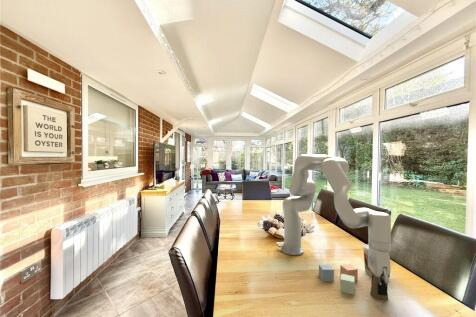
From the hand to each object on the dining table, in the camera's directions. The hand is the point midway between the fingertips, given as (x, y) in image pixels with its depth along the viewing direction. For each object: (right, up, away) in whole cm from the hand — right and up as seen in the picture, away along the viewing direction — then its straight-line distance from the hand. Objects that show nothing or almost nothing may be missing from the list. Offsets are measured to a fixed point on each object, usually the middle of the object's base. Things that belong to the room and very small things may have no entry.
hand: (379, 289), depth 89 cm
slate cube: (-16, -3, +13) cm, 21 cm away
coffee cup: (+9, -3, +18) cm, 20 cm away
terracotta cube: (-5, -3, +13) cm, 15 cm away
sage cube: (-10, -3, +4) cm, 11 cm away
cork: (0, -3, 0) cm, 3 cm away
